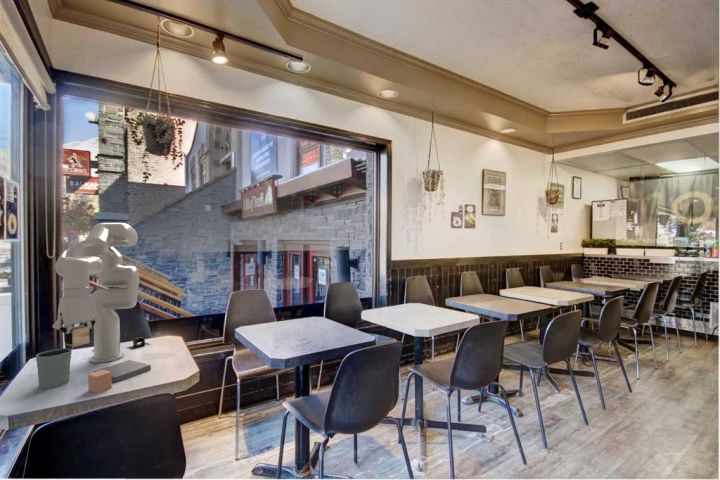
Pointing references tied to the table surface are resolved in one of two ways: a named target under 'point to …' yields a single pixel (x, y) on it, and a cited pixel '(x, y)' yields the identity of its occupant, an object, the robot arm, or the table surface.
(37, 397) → the table surface
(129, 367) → the baseplate
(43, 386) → the green cup
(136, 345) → the black frame block
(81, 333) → the maple block
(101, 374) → the terracotta block
